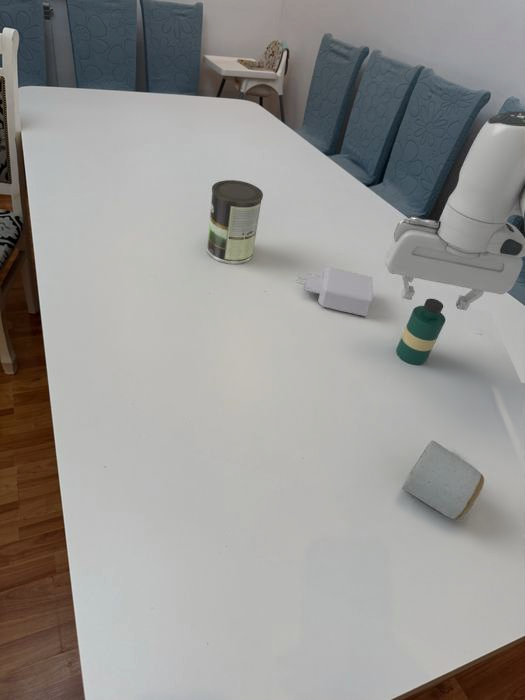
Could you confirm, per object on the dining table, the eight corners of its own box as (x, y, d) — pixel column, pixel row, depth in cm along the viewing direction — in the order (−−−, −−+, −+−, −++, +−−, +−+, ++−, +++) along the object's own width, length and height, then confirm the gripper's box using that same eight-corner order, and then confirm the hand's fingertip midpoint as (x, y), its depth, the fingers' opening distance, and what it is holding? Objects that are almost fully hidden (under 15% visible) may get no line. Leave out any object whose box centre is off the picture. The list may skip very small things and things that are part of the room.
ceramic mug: (453, 534, 63) (480, 500, 58) (395, 498, 66) (415, 462, 61) (475, 481, 71) (500, 446, 66) (421, 450, 73) (441, 415, 69)
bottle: (423, 347, 93) (447, 297, 85) (429, 367, 88) (454, 316, 81) (394, 342, 93) (415, 291, 85) (397, 362, 88) (420, 310, 81)
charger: (296, 277, 105) (366, 293, 104) (290, 301, 98) (365, 318, 97) (300, 258, 102) (372, 274, 101) (295, 281, 95) (372, 299, 94)
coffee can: (200, 257, 105) (205, 194, 96) (214, 236, 113) (219, 175, 104) (247, 269, 104) (257, 206, 95) (257, 246, 112) (267, 186, 103)
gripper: (403, 223, 71) (374, 301, 80) (540, 250, 72) (496, 324, 81) (398, 205, 76) (371, 280, 85) (526, 230, 77) (486, 302, 86)
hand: (433, 302), depth 83 cm, fingers open, 8 cm apart
